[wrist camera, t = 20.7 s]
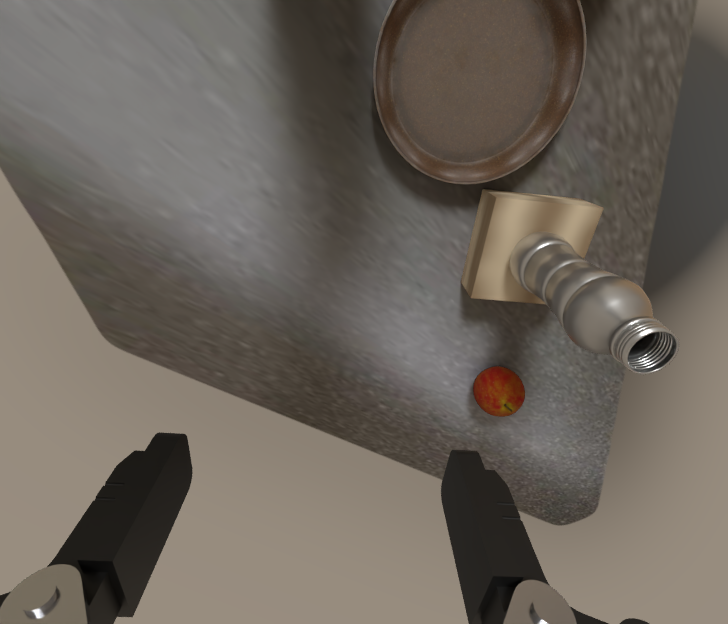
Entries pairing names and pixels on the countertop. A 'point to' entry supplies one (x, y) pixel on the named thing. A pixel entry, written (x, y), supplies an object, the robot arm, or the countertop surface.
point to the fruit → (499, 391)
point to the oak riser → (520, 238)
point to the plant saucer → (477, 82)
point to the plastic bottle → (593, 304)
